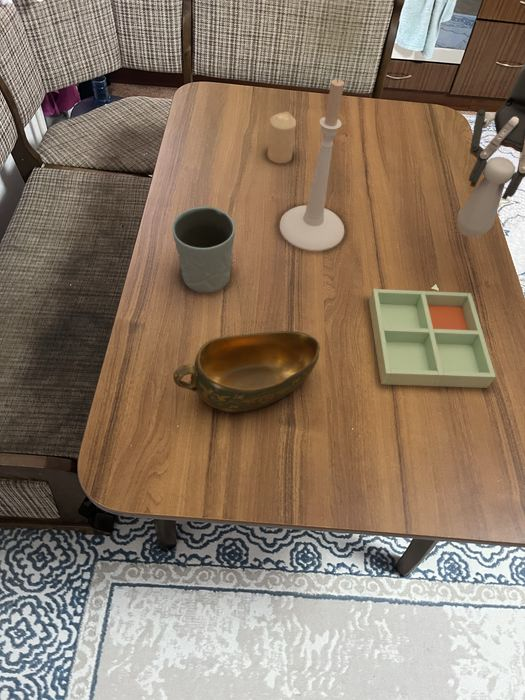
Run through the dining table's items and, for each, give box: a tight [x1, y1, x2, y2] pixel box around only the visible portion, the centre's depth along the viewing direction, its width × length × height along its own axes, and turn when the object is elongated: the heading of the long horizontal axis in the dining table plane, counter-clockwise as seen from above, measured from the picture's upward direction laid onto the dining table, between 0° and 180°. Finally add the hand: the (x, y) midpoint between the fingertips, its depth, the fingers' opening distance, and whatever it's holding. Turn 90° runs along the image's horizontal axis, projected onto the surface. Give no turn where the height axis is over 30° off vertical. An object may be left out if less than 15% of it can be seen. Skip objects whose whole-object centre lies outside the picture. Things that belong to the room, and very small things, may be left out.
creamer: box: [173, 330, 321, 414], centre depth 79 cm, size 13×20×10 cm, turn 82°
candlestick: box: [279, 78, 345, 252], centre depth 93 cm, size 13×13×30 cm
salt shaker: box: [456, 156, 516, 239], centre depth 84 cm, size 6×6×13 cm
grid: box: [368, 288, 497, 389], centre depth 89 cm, size 17×17×4 cm
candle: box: [267, 111, 297, 164], centre depth 114 cm, size 6×6×10 cm
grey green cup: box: [171, 205, 236, 294], centre depth 91 cm, size 10×10×12 cm
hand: (488, 191), depth 81 cm, fingers closed on salt shaker, 4 cm apart
